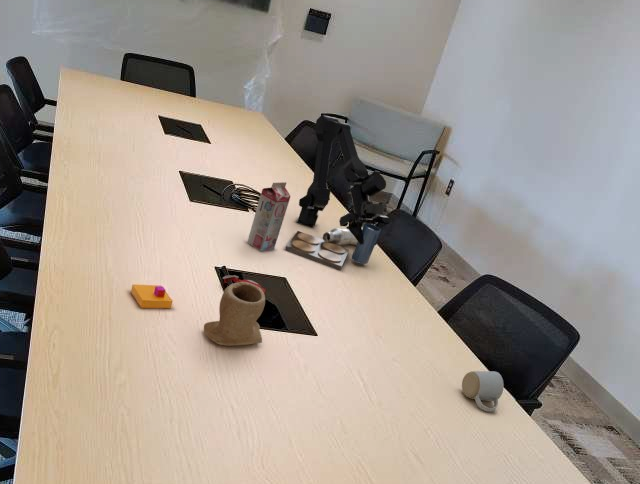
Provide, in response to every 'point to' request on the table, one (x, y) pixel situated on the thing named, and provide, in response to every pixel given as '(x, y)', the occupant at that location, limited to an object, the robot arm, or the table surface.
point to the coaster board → (317, 250)
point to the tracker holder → (240, 281)
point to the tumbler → (366, 244)
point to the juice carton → (269, 217)
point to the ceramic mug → (483, 387)
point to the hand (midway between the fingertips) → (368, 244)
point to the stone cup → (238, 316)
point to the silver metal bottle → (339, 237)
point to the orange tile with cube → (151, 296)
